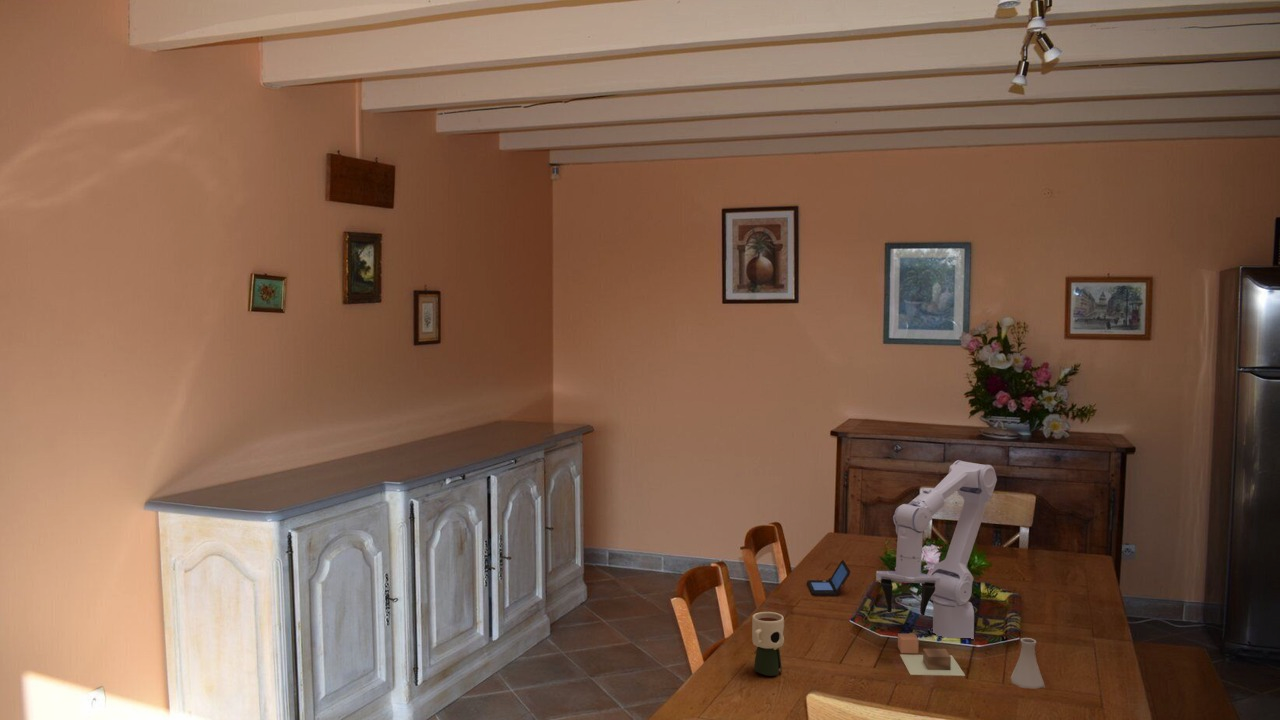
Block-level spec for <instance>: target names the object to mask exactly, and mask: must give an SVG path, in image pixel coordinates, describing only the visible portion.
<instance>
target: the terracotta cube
mask: <svg viewBox="0 0 1280 720" xmlns="http://www.w3.org/2000/svg"><path fill="white" fill-rule="evenodd" d="M897 648H898V650H899V652H900V654H919V638H918V637H917V634H916V633H897Z"/></svg>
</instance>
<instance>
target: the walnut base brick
mask: <svg viewBox="0 0 1280 720" xmlns="http://www.w3.org/2000/svg"><path fill="white" fill-rule="evenodd" d="M922 655H923V662H924V664H925V665H926V667H927V669H928V670H951V657H950V654H949V652H948V651H947V649H946V648H922Z"/></svg>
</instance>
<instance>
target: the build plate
mask: <svg viewBox="0 0 1280 720" xmlns="http://www.w3.org/2000/svg"><path fill="white" fill-rule="evenodd" d="M949 655H950V654H949ZM899 656H900V658H901V659H902V662H903V663H904V665H905V667H906V669H907V671H908V673H909V674H910V676H913V675H914V676H956V677H957V676H959V677H961V676H962V677H965V676H966V675H965V672H964V671H963V670H962V668H961V667H960V665H959V663H958V662H957V660H955V658H954V656H953V655H950V657H951V670H928V669H927V667H926V665H925V664H924V662H923V654H903V653H900V654H899Z"/></svg>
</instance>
